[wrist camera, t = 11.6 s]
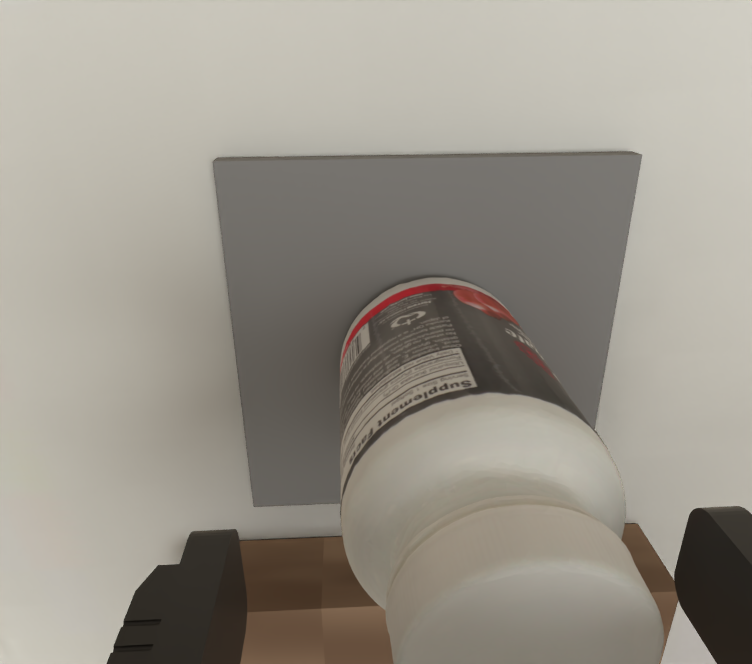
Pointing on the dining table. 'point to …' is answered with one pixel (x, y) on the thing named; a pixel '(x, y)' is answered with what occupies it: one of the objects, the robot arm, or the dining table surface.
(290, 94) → the dining table surface
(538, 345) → the charcoal mat
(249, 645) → the walnut dock
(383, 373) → the pill bottle
